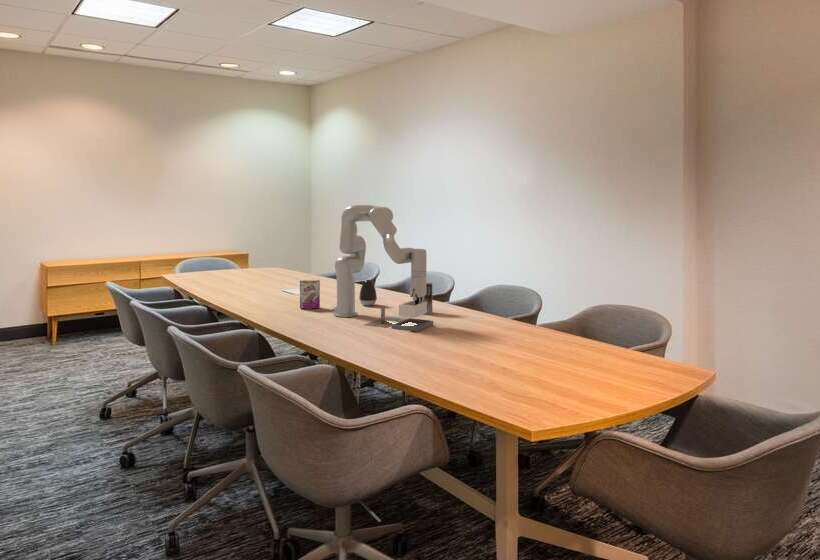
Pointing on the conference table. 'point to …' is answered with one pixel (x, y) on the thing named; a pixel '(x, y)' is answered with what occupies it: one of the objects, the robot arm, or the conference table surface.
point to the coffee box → (428, 298)
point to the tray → (416, 328)
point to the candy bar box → (309, 293)
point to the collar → (412, 309)
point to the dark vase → (367, 293)
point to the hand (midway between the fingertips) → (418, 310)
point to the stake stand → (380, 321)
